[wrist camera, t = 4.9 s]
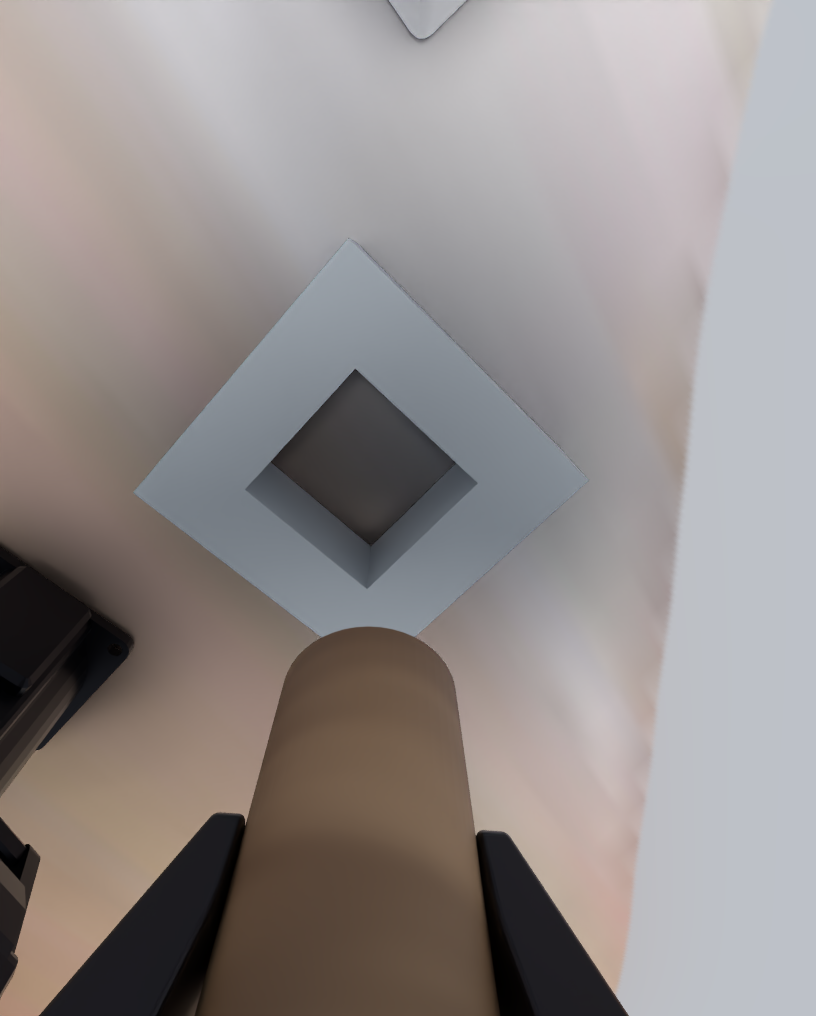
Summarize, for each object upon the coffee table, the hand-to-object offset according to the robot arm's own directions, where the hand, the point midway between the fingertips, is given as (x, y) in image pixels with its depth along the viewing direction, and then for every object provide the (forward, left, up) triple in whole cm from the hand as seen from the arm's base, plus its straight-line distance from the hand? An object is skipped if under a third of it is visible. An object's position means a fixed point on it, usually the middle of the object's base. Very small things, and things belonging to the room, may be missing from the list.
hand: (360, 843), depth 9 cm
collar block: (+1, +2, -13) cm, 13 cm away
